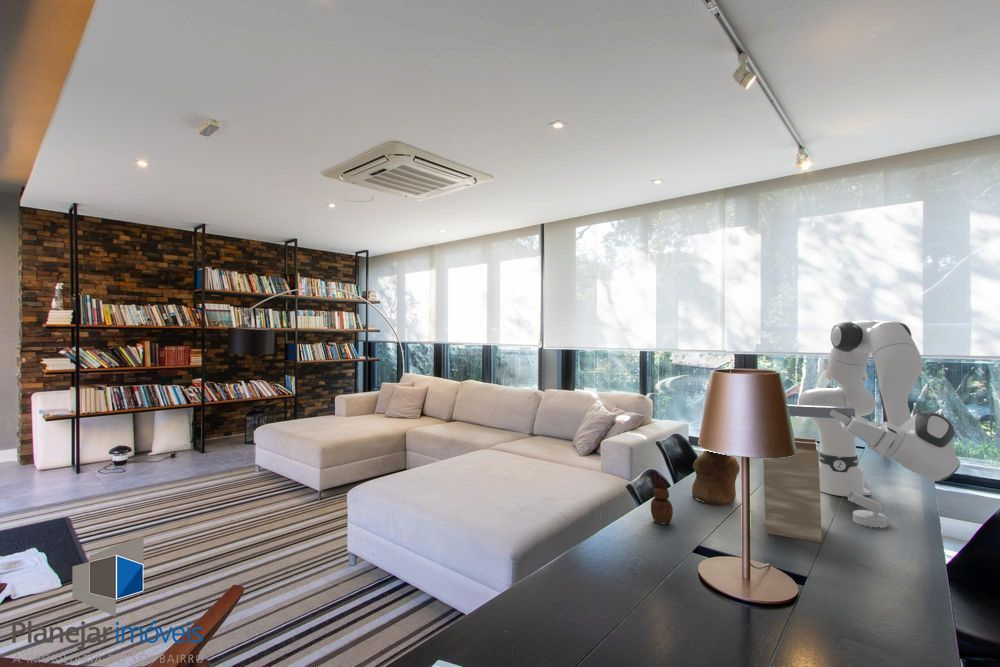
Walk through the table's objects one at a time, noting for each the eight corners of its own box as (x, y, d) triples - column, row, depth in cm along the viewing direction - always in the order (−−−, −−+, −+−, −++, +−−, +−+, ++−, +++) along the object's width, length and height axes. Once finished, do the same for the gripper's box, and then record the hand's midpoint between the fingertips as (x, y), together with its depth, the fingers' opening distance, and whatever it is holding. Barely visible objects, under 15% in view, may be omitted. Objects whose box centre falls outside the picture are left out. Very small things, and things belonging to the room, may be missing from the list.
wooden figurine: (647, 520, 155) (646, 474, 155) (660, 517, 157) (659, 471, 158) (663, 527, 149) (662, 479, 149) (676, 524, 151) (675, 476, 152)
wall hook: (841, 487, 155) (876, 488, 153) (842, 517, 155) (877, 518, 153) (855, 495, 146) (893, 497, 144) (857, 527, 146) (894, 529, 144)
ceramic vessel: (729, 492, 181) (726, 414, 182) (754, 513, 159) (751, 423, 160) (686, 492, 183) (684, 414, 183) (705, 512, 161) (702, 423, 162)
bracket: (773, 413, 147) (773, 387, 147) (854, 417, 136) (853, 389, 137) (773, 415, 144) (772, 388, 145) (855, 419, 134) (854, 390, 134)
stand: (767, 517, 155) (764, 431, 156) (819, 525, 148) (816, 435, 148) (765, 532, 143) (762, 439, 144) (821, 542, 136) (818, 443, 136)
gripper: (883, 422, 140) (833, 397, 146) (896, 434, 122) (839, 405, 129) (871, 440, 141) (821, 414, 148) (882, 454, 124) (825, 425, 130)
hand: (829, 410), depth 138 cm, fingers closed on bracket, 3 cm apart
